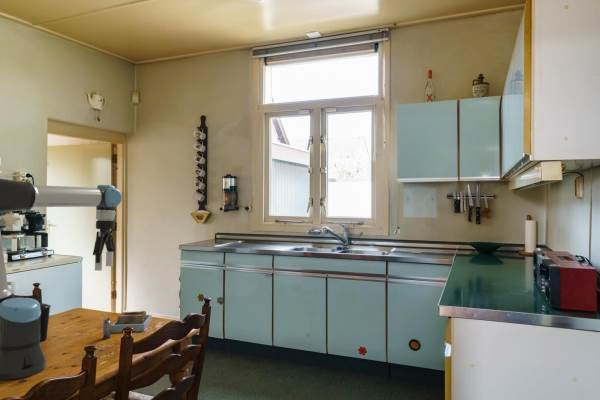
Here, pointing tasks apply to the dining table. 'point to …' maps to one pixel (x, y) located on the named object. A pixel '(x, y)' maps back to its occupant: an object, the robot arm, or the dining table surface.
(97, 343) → the dining table surface
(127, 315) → the grey-brown rectangular block
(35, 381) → the dining table surface
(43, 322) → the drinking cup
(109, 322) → the stake
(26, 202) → the robot arm
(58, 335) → the dining table surface
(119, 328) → the tray
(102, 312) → the dining table surface
